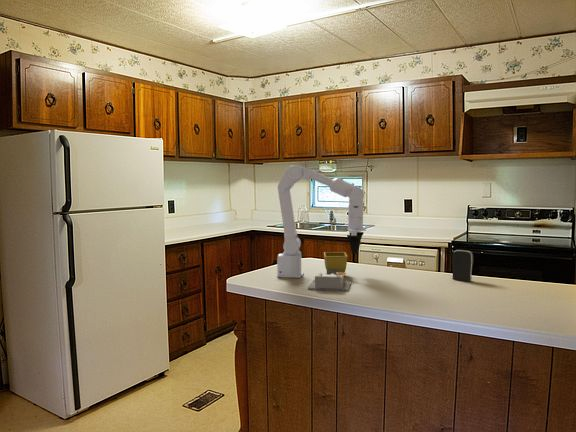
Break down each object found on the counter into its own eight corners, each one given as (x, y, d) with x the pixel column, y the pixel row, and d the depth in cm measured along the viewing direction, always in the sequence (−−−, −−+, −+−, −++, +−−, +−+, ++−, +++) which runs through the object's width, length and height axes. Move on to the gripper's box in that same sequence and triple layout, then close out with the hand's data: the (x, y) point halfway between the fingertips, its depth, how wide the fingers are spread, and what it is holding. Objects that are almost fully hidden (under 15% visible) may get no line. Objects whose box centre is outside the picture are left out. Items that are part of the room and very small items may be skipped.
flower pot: (347, 278, 174) (347, 255, 173) (325, 278, 174) (324, 256, 173) (345, 273, 182) (345, 252, 182) (323, 274, 183) (323, 252, 182)
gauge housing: (307, 289, 157) (307, 276, 157) (313, 281, 169) (313, 269, 169) (347, 291, 154) (347, 278, 154) (350, 283, 166) (350, 270, 166)
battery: (473, 280, 169) (474, 250, 168) (470, 282, 166) (471, 251, 165) (455, 277, 173) (455, 248, 172) (451, 279, 170) (452, 250, 169)
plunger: (322, 284, 163) (321, 272, 163) (325, 278, 173) (325, 267, 173) (345, 285, 161) (345, 273, 161) (347, 278, 171) (347, 268, 171)
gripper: (364, 219, 168) (364, 255, 169) (367, 215, 182) (366, 248, 183) (345, 218, 169) (345, 254, 170) (349, 215, 183) (349, 248, 184)
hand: (355, 251), depth 177 cm, fingers open, 7 cm apart
